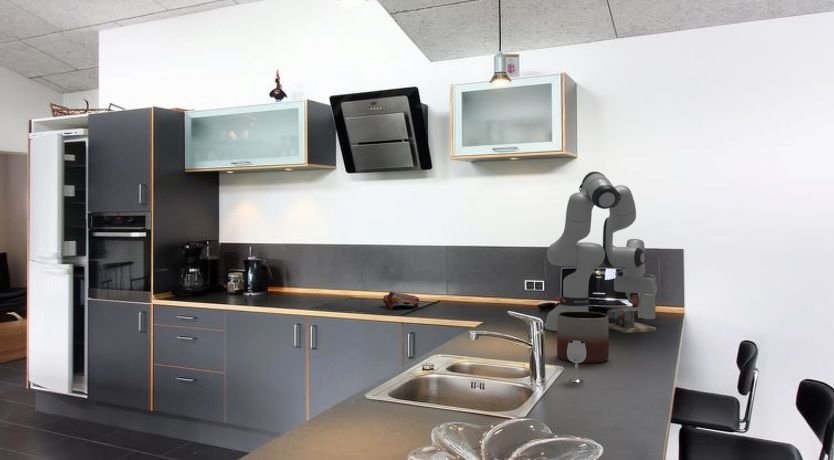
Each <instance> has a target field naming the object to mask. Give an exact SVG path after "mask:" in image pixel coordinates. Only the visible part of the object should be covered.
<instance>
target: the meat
mask: <svg viewBox="0 0 834 460" xmlns="http://www.w3.org/2000/svg"><path fill="white" fill-rule="evenodd" d="M382 301H383V304H385V306H386V307H387V310H391V311H393V308H394V307H393V306H396V305H399V304H401V303H402V304H404V305H407V306H408V305H414V307H413V310H419V304H420V298H419V297H418V296H416V295H413V294H412V295H411V294H407V293H403V292H401V293H400V292H398V291H394V290H391V291H390V292H389V293H388V294H386V295H385V294H384V295H383V299H382Z"/></svg>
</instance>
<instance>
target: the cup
mask: <svg viewBox="0 0 834 460" xmlns="http://www.w3.org/2000/svg"><path fill="white" fill-rule="evenodd" d="M656 294H657V293H656ZM656 294H654V295H650V294H645V296H644V298H643V299H642V303H639V307H638V311H637V317H638V319H641V318H643V319H642V320H655V319H656V296H657V295H656ZM637 295H639V299H640V297H641V296H640V294H639V293H637Z"/></svg>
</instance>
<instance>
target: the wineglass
mask: <svg viewBox="0 0 834 460" xmlns="http://www.w3.org/2000/svg"><path fill="white" fill-rule="evenodd" d="M567 357H568V359H569V360H570V361H572V362H571V363H573V364H574V363H575V364H574V369H575V377H574V378H571V379H569V380H568V382H570V381H571V382H570V383H572V382H577V383H576V384H581V383H580V382H583V381H584V380H583V379H579V377H578V370H579V364H582V363H581V362H583V361H584V360H585V358H586V347H585V343H584V342H582V341H569V343H568V347H567ZM583 383H584V382H583Z"/></svg>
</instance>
